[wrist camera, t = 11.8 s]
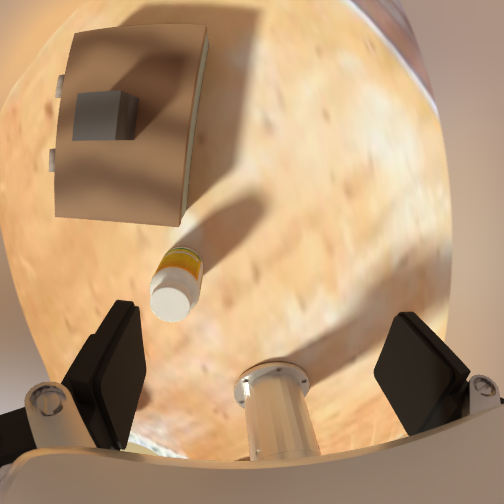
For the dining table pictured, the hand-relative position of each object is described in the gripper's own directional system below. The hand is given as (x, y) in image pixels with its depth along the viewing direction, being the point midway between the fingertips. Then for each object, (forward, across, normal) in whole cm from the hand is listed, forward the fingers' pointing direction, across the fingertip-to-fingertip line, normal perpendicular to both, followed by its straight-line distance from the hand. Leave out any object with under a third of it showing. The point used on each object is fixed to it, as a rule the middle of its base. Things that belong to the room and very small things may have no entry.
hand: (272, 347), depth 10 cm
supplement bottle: (+26, +6, +8) cm, 28 cm away
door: (+20, +13, -9) cm, 25 cm away
